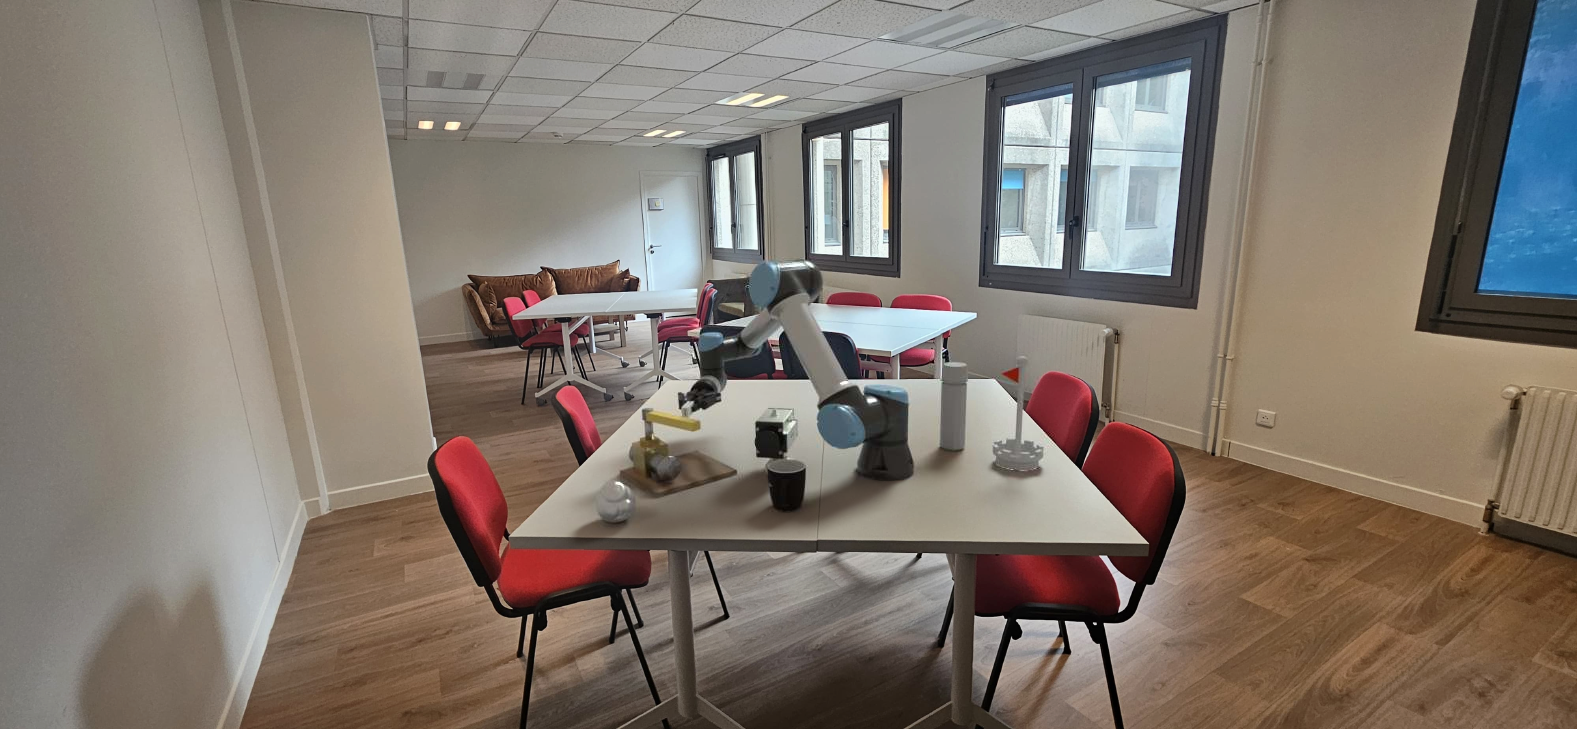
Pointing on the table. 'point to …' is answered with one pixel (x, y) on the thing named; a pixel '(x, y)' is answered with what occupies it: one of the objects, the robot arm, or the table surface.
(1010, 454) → the flag stand
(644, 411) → the valve lever
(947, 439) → the water bottle
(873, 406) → the robot arm
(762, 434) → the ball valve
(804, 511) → the table surface
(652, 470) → the valve body
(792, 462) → the mug
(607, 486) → the round lidded jar
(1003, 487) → the table surface
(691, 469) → the walnut board
